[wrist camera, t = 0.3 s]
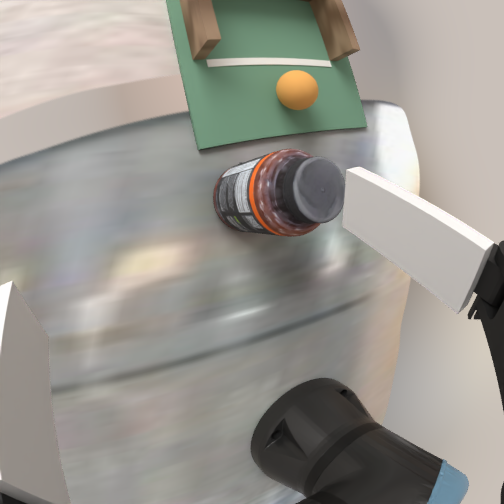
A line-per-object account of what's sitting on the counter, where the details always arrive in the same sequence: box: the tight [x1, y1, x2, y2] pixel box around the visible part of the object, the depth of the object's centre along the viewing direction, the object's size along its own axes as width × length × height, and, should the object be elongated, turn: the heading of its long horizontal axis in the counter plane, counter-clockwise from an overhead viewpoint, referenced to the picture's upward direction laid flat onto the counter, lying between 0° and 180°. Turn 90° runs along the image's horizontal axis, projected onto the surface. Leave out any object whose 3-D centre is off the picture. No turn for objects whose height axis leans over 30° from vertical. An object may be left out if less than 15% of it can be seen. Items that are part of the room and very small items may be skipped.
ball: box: [276, 70, 318, 110], centre depth 26 cm, size 4×4×4 cm
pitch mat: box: [166, 0, 367, 150], centre depth 27 cm, size 22×21×1 cm
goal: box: [179, 0, 360, 61], centre depth 24 cm, size 10×18×4 cm, turn 107°
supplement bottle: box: [213, 149, 345, 236], centre depth 23 cm, size 6×6×11 cm
